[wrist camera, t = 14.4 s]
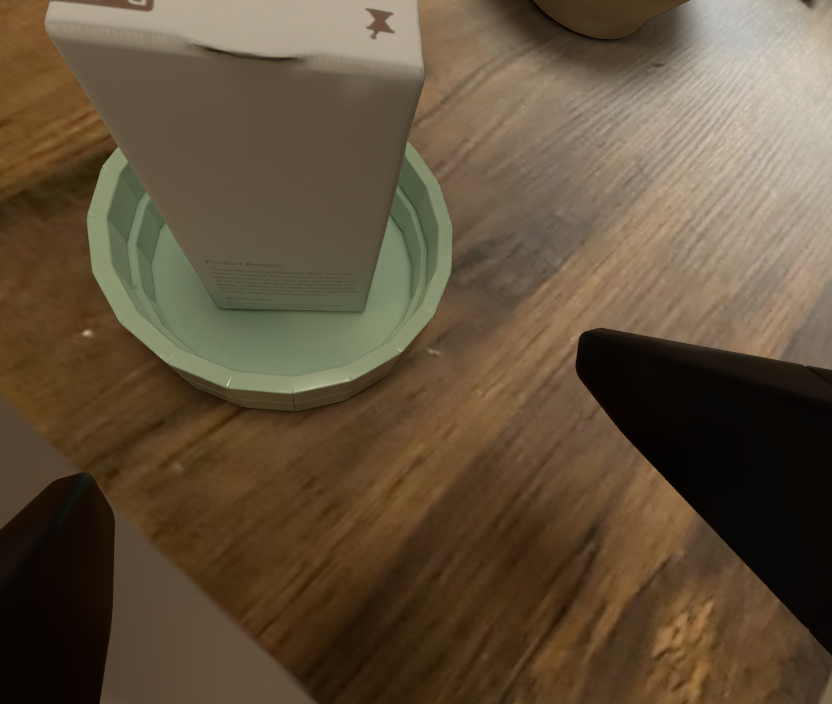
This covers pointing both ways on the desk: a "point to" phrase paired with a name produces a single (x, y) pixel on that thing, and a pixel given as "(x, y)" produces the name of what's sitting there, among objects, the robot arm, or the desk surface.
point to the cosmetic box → (258, 131)
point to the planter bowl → (605, 15)
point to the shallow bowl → (269, 328)
